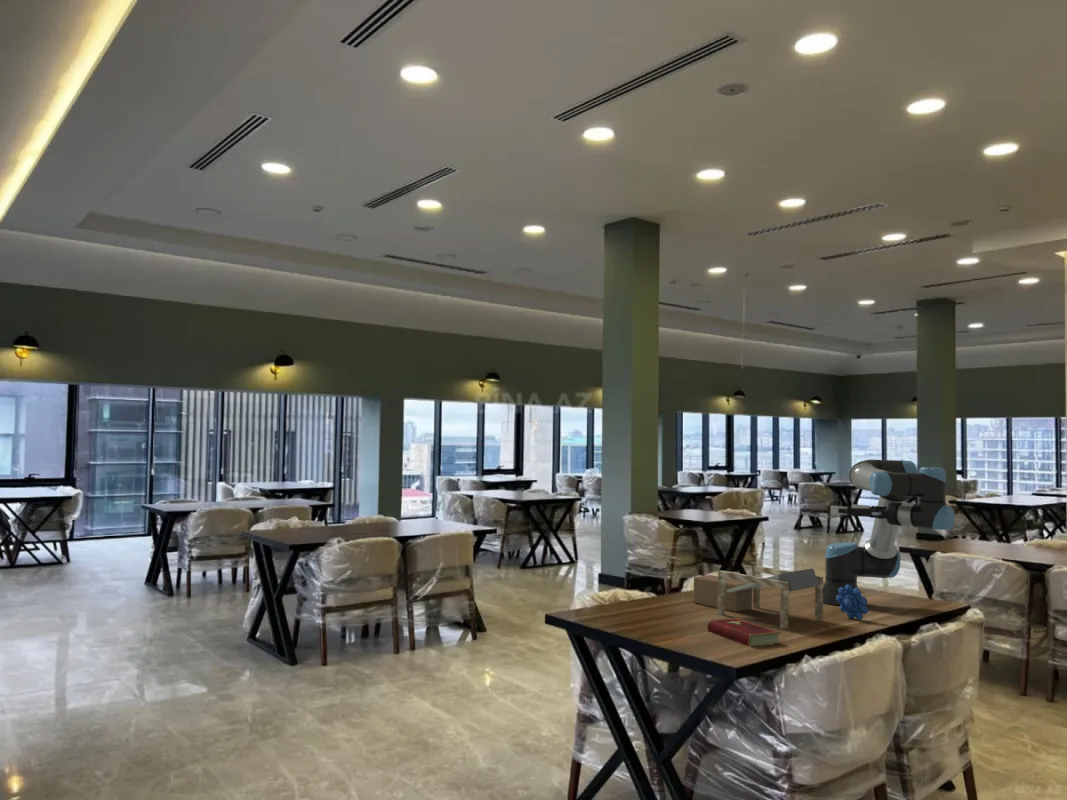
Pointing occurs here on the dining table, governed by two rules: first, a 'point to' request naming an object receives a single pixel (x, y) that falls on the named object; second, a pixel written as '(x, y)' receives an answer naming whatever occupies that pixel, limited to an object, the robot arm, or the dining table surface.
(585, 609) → the dining table surface
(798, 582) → the trapdoor
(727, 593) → the wooden block
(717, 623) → the hardcover book
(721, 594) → the hinged flap stand
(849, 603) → the grapes
